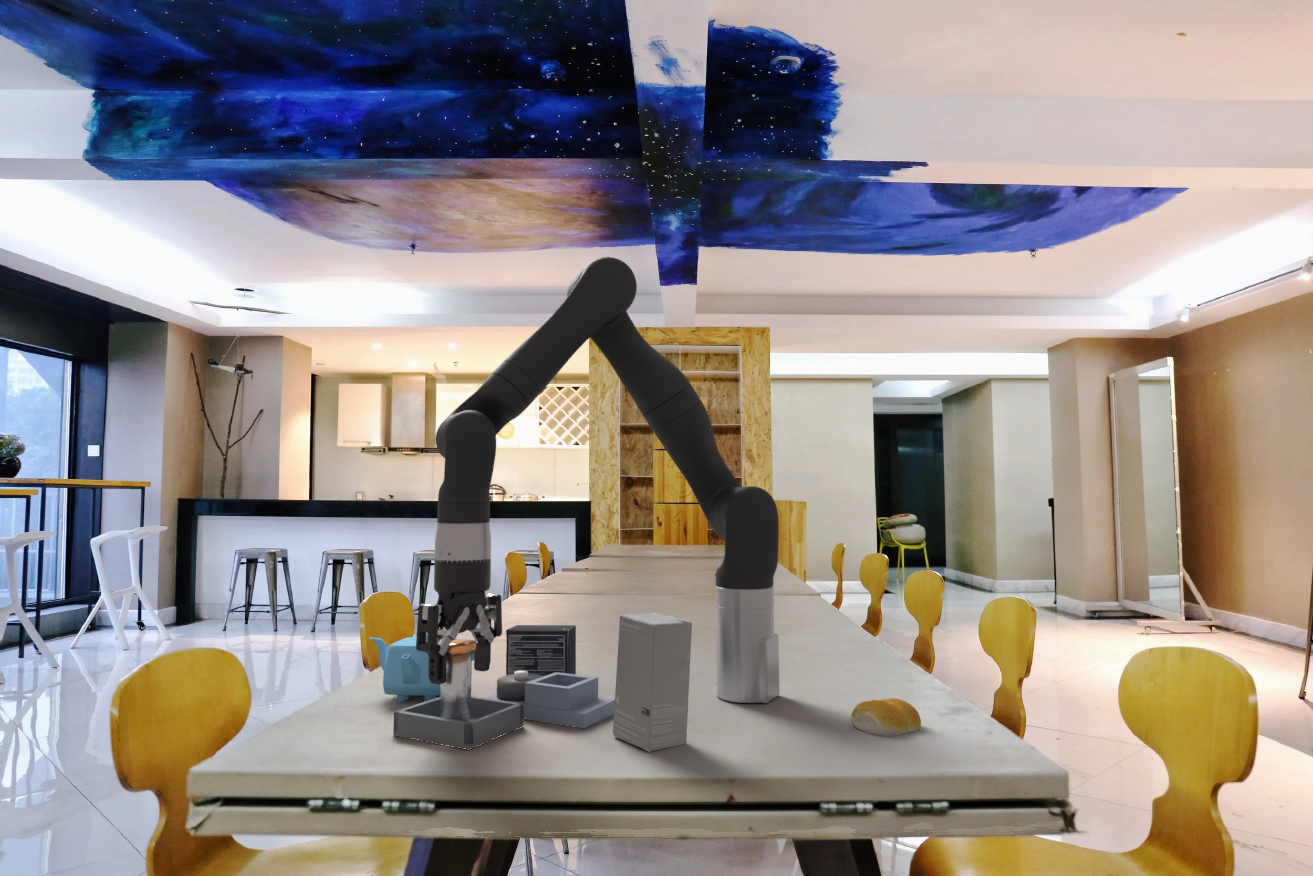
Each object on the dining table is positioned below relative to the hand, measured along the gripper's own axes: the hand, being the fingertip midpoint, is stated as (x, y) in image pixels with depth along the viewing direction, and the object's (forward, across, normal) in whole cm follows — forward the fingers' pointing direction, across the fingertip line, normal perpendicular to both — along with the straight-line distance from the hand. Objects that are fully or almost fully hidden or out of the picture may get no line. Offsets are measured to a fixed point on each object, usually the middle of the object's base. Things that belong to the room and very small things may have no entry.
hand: (460, 676), depth 101 cm
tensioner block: (+7, +12, -5) cm, 15 cm away
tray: (+7, 0, 0) cm, 7 cm away
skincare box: (+7, +8, -25) cm, 27 cm away
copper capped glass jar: (+7, -1, 0) cm, 7 cm away
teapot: (+7, +10, +18) cm, 22 cm away
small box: (+7, +22, +3) cm, 24 cm away
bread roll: (+8, +28, -51) cm, 59 cm away
